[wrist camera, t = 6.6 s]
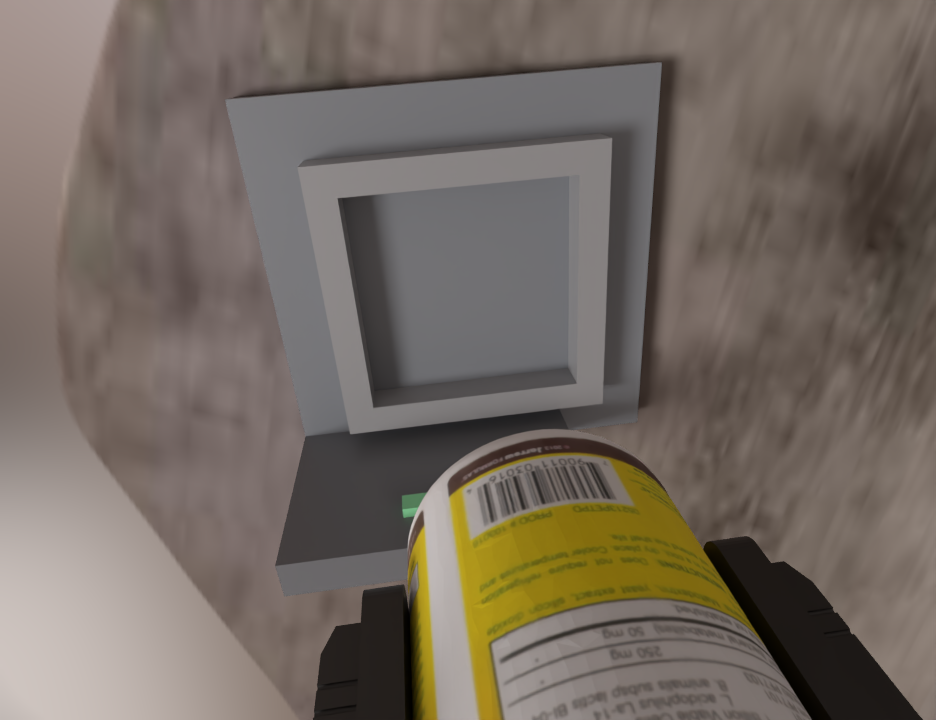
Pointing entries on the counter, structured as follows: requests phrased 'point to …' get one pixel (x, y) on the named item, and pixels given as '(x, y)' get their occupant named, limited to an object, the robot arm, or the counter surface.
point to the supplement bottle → (574, 596)
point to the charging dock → (445, 283)
